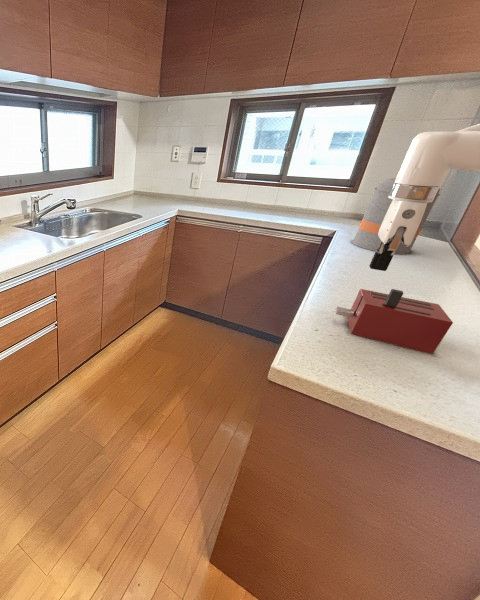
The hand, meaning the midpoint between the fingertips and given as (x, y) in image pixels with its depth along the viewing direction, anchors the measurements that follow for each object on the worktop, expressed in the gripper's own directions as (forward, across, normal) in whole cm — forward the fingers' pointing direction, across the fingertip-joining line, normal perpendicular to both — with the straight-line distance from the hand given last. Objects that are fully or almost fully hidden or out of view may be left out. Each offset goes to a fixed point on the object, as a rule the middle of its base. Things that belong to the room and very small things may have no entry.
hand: (377, 268), depth 81 cm
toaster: (+17, +1, -8) cm, 19 cm away
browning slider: (+8, -3, -5) cm, 10 cm away
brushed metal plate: (+14, +1, +2) cm, 14 cm away
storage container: (+18, +104, -19) cm, 107 cm away
